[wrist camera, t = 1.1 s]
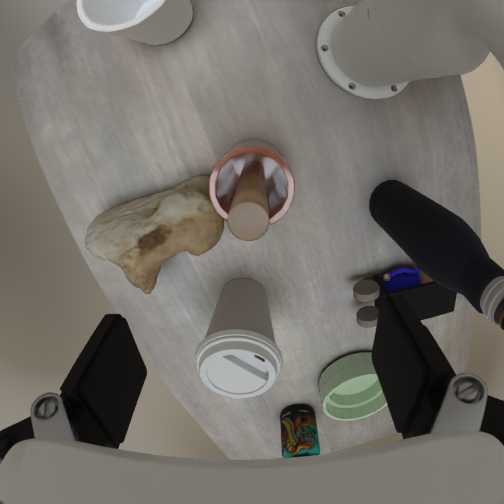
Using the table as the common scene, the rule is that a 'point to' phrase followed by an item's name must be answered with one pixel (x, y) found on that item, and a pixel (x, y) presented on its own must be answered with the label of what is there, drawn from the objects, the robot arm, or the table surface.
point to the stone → (156, 230)
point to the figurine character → (411, 287)
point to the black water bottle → (441, 246)
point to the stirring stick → (249, 204)
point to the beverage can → (299, 432)
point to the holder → (230, 171)
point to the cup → (138, 18)
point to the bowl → (351, 388)
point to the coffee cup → (240, 343)
